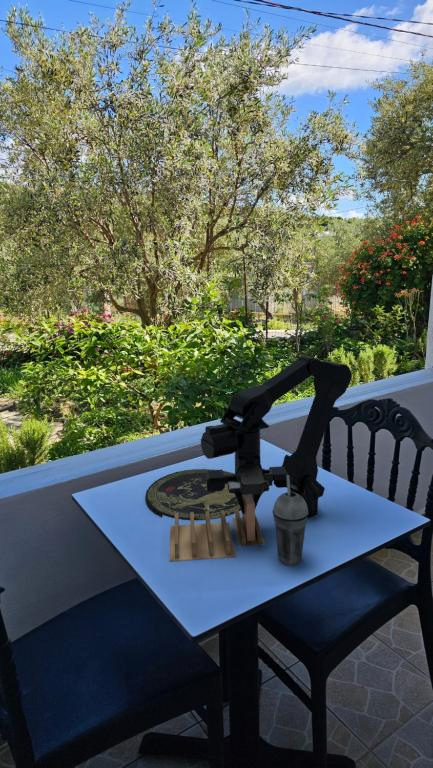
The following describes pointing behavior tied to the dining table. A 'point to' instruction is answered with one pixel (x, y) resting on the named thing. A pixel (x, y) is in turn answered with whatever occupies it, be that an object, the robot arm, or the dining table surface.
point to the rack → (201, 540)
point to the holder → (241, 533)
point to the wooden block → (249, 517)
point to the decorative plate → (189, 496)
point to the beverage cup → (290, 526)
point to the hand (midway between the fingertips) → (247, 512)
